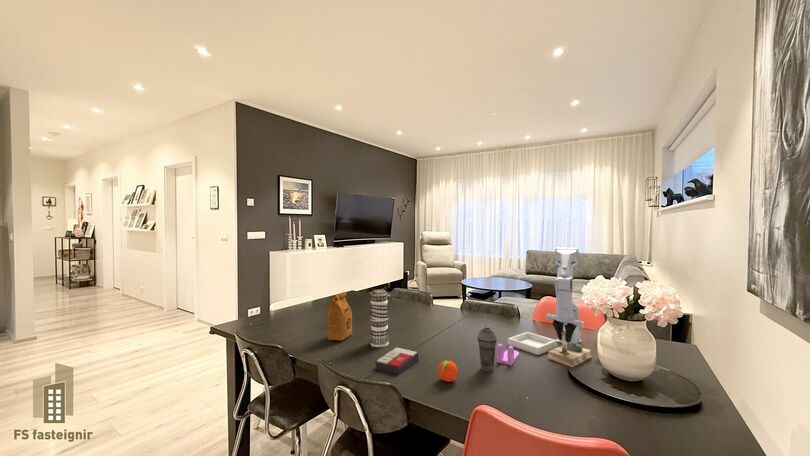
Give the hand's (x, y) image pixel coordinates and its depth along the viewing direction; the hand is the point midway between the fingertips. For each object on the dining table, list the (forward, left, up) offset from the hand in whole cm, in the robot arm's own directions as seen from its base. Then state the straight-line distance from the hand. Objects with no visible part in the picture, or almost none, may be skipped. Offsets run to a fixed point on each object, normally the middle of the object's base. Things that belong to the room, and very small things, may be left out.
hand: (564, 340), depth 130 cm
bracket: (+16, -15, -8) cm, 23 cm away
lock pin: (0, 0, -4) cm, 4 cm away
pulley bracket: (-4, 0, -8) cm, 9 cm away
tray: (-4, -17, -8) cm, 19 cm away
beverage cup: (+31, -14, -8) cm, 35 cm away
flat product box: (+56, -38, -9) cm, 68 cm away
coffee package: (+61, -81, -8) cm, 101 cm away
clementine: (+50, -16, -8) cm, 53 cm away
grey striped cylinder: (+50, -62, -8) cm, 80 cm away
